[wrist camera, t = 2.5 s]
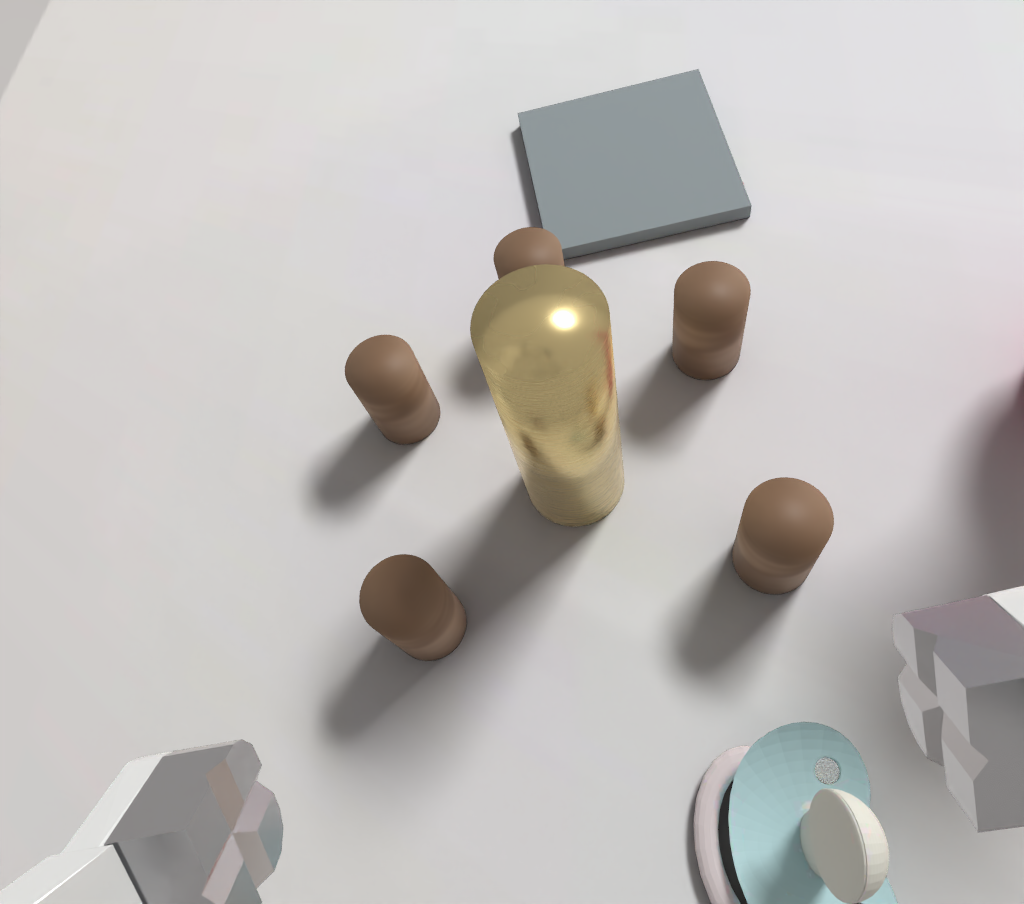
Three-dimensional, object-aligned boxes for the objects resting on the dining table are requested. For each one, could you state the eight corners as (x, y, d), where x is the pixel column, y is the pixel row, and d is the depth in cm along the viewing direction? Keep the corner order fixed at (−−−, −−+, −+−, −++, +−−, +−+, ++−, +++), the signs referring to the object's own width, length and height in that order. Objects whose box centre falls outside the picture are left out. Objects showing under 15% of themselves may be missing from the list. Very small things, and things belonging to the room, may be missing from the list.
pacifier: (711, 971, 26) (902, 966, 25) (718, 1009, 21) (963, 1003, 20) (679, 738, 29) (847, 725, 29) (678, 716, 24) (887, 700, 23)
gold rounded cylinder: (535, 535, 34) (479, 394, 23) (520, 448, 35) (462, 281, 25) (633, 515, 33) (623, 363, 23) (613, 429, 35) (594, 251, 24)
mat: (550, 262, 40) (548, 252, 39) (520, 125, 44) (517, 113, 43) (749, 217, 39) (751, 205, 38) (697, 81, 43) (698, 69, 43)
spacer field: (398, 667, 32) (362, 642, 28) (370, 327, 40) (338, 271, 36) (821, 586, 31) (845, 548, 27) (707, 251, 38) (712, 183, 34)
